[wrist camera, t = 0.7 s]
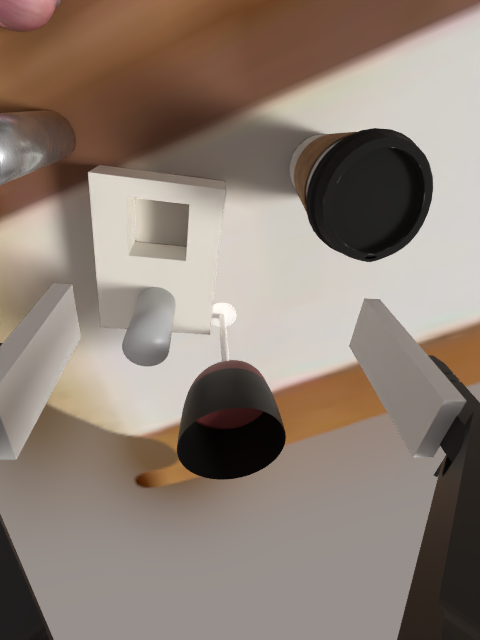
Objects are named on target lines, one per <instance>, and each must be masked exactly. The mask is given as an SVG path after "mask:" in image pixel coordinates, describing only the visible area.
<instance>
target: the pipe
mask: <svg viewBox="0 0 480 640" xmlns="http://www.w3.org/2000/svg"><path fill="white" fill-rule="evenodd" d="M75 145H76V137H75V133H74V130H73V128H72V126H71V124H70V123H69V122H68V121H67V119H66V118H64V117H63V116H62V115H60V114H59V113H57V112H54V111H51V110H40V111H25V112H10V113H0V185H2V184H4V183H7V182H9V181H11V180H14V179H16V178H19V177H21V176H23V175H26V174H28V173H31V172H33V171H35V170H38V169H40V168H43V167H45V166H47V165H50V164H52V163H55V162H57V161H59V160H62V159H64V158H67V157H68V156H70V155H71V154H72V152H73V151H74V149H75Z"/></svg>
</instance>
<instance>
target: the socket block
mask: <svg viewBox="0 0 480 640" xmlns="http://www.w3.org/2000/svg"><path fill="white" fill-rule="evenodd" d="M88 179H89V191H90V204H91V216H92V229H93V241H94V253H95V266H96V278H97V291H98V303H99V315H100V327H106V328H120V329H127V332H126V335H125V337H124V340H123V344H122V349H123V352H124V354H125V356H126V357H127V358H128V359H129V360H130V361H131V362H133V363H135V364H137V365H141V366H154V365H157V364H159V363H161V362H163V361H164V360H165V359H166V357H167V356H168V353H169V347H170V340H171V333H172V332H178V333H193V334H207V335H210V328H211V320H212V311H213V302H214V293H215V284H216V275H217V266H218V257H219V248H220V239H221V231H222V222H223V213H224V204H225V195H226V187H225V182H224V181H219V180H211V179H204V178H196V177H188V176H181V175H173V174H165V173H158V172H150V171H142V170H135V169H127V168H119V167H112V166H104V165H99V166H97V167H96V168H94V169H92V170H91V171H89V172H88ZM135 198H139V199H147V200H156V201H164V202H173V203H181V204H189V220H188V237H187V247H183V246H173V245H164V244H154V243H144V242H135Z"/></svg>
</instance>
